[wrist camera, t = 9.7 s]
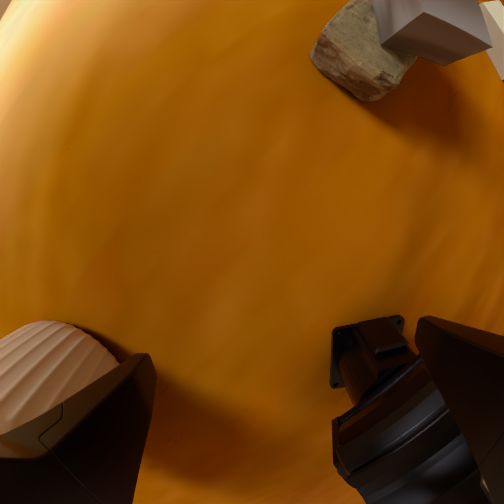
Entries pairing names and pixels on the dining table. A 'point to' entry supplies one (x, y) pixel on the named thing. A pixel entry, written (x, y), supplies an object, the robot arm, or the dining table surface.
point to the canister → (46, 369)
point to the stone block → (359, 53)
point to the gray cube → (432, 28)
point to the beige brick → (495, 32)
